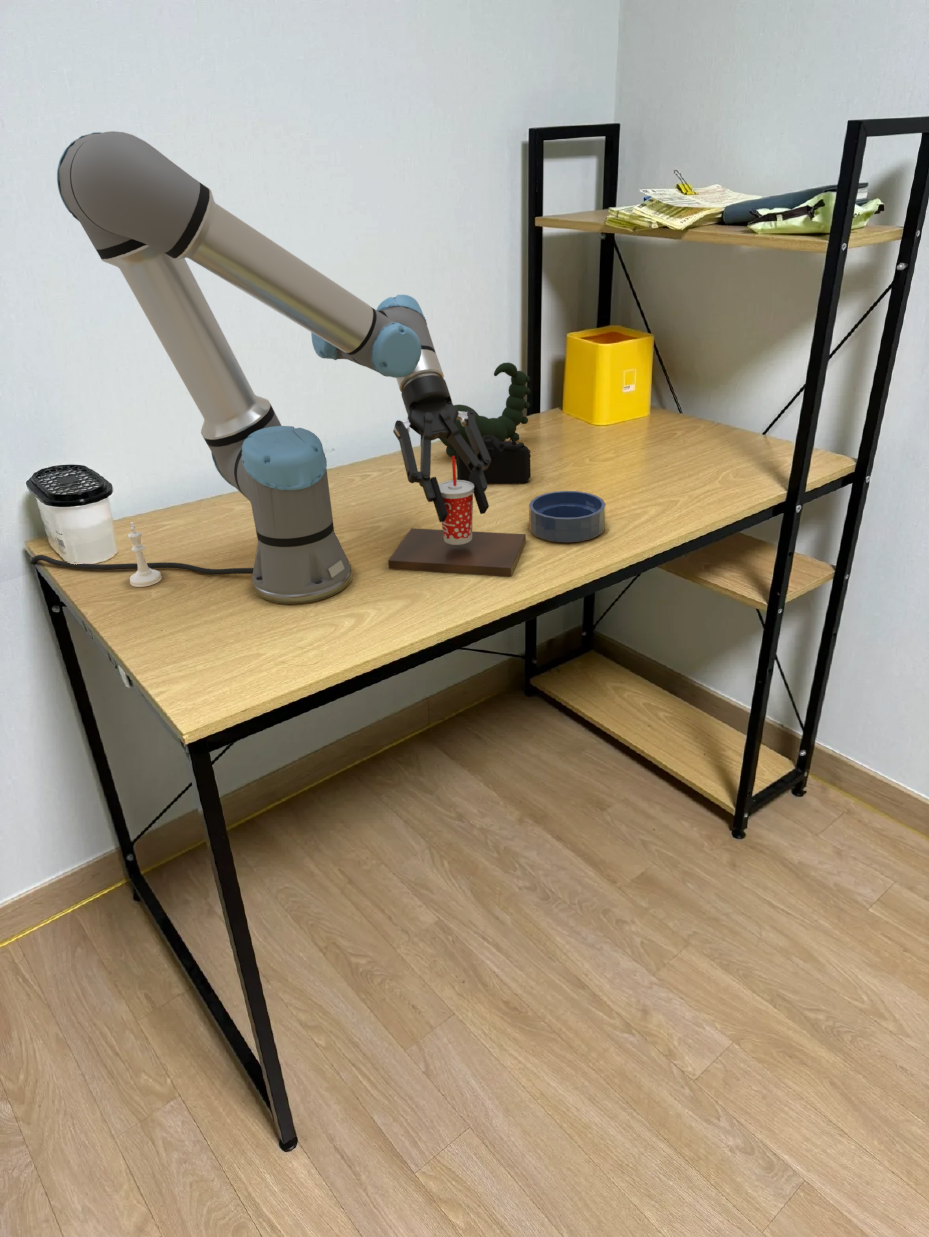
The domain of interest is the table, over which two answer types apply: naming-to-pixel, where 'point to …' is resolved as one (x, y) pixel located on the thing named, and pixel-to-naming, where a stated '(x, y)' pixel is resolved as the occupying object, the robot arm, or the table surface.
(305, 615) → the table surface
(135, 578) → the chess piece
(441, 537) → the board
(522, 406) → the toy figurine
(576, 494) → the bowl
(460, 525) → the beverage cup
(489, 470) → the film camera
